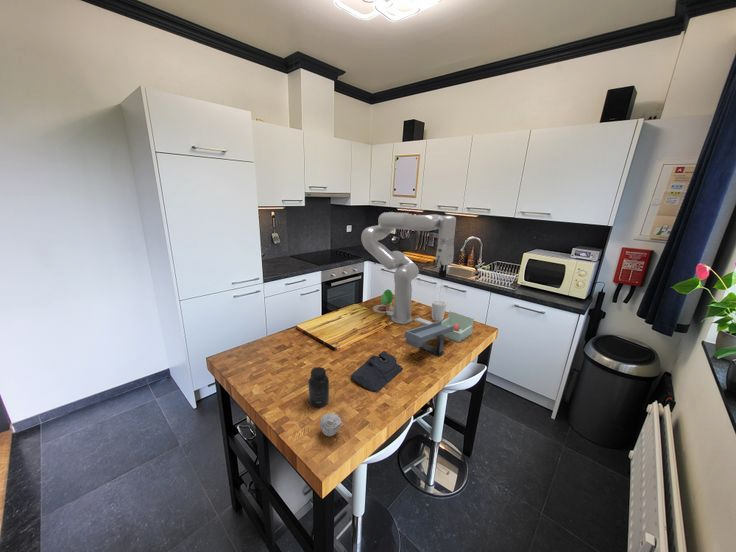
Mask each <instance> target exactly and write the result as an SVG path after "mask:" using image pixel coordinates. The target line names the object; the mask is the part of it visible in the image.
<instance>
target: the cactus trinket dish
mask: <svg viewBox="0 0 736 552" xmlns="http://www.w3.org/2000/svg"><path fill="white" fill-rule="evenodd" d="M393 294H394V293H393V292H392V290H390V289H385V291H384V292H383V294H381V297H380V303H381V304H376V305H375V306H374V305H373V307H372V311H374V312H375V313H380V314H386V311H393V310H394V306H393V305H392V304H393V303H392V302H393V300H394V299H393V298H394V295H393Z"/></svg>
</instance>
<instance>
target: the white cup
mask: <svg viewBox="0 0 736 552" xmlns="http://www.w3.org/2000/svg"><path fill="white" fill-rule="evenodd" d="M446 306H447V302H445V301H444V300H441V299H440V300H439V299H436V300H435V299H433V300H432V302H431V319H432V320H433V321H435V322H438V321H443V320H444V317H445V313H446Z"/></svg>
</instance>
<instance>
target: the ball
mask: <svg viewBox="0 0 736 552" xmlns="http://www.w3.org/2000/svg"><path fill="white" fill-rule="evenodd" d="M453 325H454V326H455V327H454V331H456V332H457V331H459V329H460V327H459V325H458V324H453Z"/></svg>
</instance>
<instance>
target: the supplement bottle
mask: <svg viewBox="0 0 736 552" xmlns="http://www.w3.org/2000/svg"><path fill="white" fill-rule="evenodd" d="M326 373H327V372H326V369H325V368H324V367H322V366H321V367H320V366H317V367H314V368H312V369H311V370H310V377H309V378H308V383H307V385H308V386H307V387H308V402H309V405H310V406H312V407H313V408H322V407H325V406H326V405H327V404H329V401H330V384H329V383H330V381H329V377H328V376H327V375H326Z"/></svg>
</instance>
